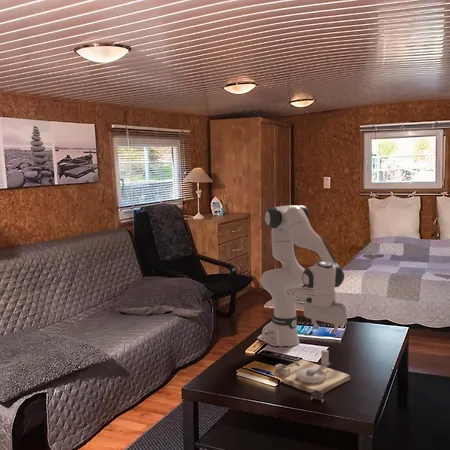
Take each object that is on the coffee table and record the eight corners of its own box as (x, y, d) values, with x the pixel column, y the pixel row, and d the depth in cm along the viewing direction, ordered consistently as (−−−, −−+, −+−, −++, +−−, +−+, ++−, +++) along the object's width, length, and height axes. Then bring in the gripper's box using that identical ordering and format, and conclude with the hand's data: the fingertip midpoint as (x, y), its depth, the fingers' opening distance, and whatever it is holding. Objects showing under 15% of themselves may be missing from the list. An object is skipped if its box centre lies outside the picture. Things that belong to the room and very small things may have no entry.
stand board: (269, 377, 227) (269, 364, 226) (301, 363, 242) (301, 351, 241) (318, 396, 208) (318, 381, 207) (349, 379, 223) (350, 366, 222)
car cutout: (306, 402, 204) (306, 391, 203) (313, 396, 209) (313, 385, 209) (342, 412, 195) (342, 400, 195) (349, 405, 201) (349, 394, 200)
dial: (313, 386, 212) (313, 365, 211) (290, 377, 220) (290, 357, 219) (341, 372, 225) (341, 352, 224) (318, 364, 234) (318, 345, 233)
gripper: (349, 302, 218) (350, 334, 219) (310, 294, 233) (310, 325, 234) (341, 305, 214) (341, 338, 215) (301, 297, 228) (301, 328, 230)
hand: (325, 331), depth 225 cm, fingers open, 8 cm apart
